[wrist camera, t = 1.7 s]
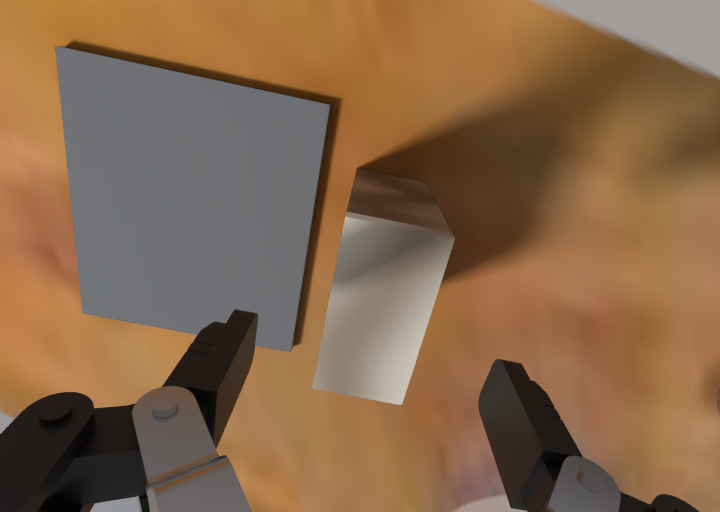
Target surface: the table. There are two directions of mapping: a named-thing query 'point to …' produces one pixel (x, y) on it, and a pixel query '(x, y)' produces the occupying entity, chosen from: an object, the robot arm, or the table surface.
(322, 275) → the table surface
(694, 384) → the table surface
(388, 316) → the slab
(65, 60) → the mat
